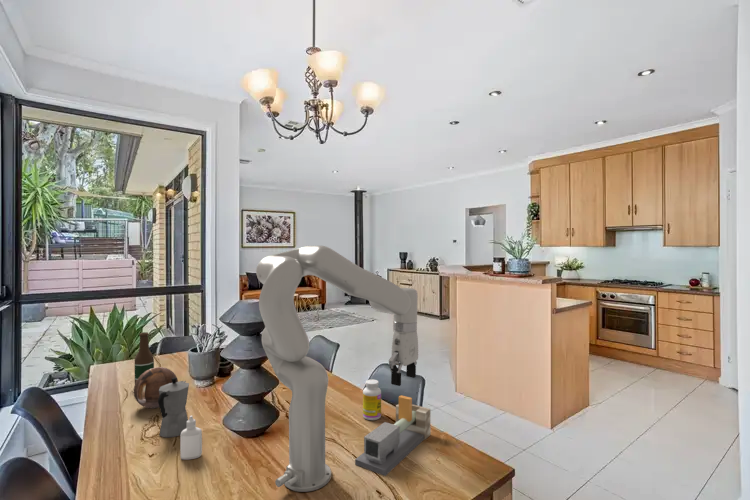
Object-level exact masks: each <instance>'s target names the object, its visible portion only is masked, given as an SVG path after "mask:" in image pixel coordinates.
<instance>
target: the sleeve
mask: <svg viewBox="0 0 750 500" xmlns="http://www.w3.org/2000/svg"><path fill="white" fill-rule="evenodd" d="M399 444H400V426H397V425H394V424H393V423H389V422H386V421H384V422H383V423H381V424H380V425H379V426H378V427H376V428H375V429H373V430H372V431H370V432H369V433H367V434H366V435H365V436H364V437H363V453H364V455H365V456H366V459H367V460H370V461H373V462H375V463H378V464H383V463H384V462H385V461H386V455H387V454H388V453H389V452H392V453H395V452H396V451H397V450H398V445H399Z"/></svg>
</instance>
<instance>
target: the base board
mask: <svg viewBox="0 0 750 500" xmlns="http://www.w3.org/2000/svg"><path fill="white" fill-rule="evenodd" d="M423 441H424V435H423V434H420V433H416V432H413V431H410V430H406V429H405V430H404V431H403V432H401V433H400V444H399V445H398V450H397V451H396V452H395V453H392V452H389V453H388V454H387V455H386V461H385V462H384V463H383V464H378V463H375V462H373V461H370V460H367V459H366V456H365V455H364V452H363V453H362V454H360V455H359V456H358V457H356V458H355V459H354V463H355V464H354V465H355V466H358V467H360V468H363V469H366V470H369V471H371V472H373V473H376V474H379V475H381V476H385V477H386V476H387V475H388V474H389V473H390V472H392V470H394V468H396V466H398V465H399V464H400V463H401V462H402V461H403V460H404V459H405V458H406V457H407V456H408V455H410V453H412V451H414V450H415V449H416V448H417V447H418V446H419V445H420V444H421V443H422V442H423Z"/></svg>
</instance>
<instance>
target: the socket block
mask: <svg viewBox="0 0 750 500" xmlns="http://www.w3.org/2000/svg"><path fill="white" fill-rule="evenodd" d="M412 411H416V421H415V422H414V423H412V424H411V425H410V426H409V427H408V428H406V430H410V431H413V432H416V433H420V434H423V435H424V440H427V438H428V437H430V436H431V434H432V433H431V432H432V431H431V426H432V425H431V408H428V407H424V406H421V405H418V404H417V405H416V404H413V403H412ZM399 420H400V419H399V403H398V404H396V405H395V423H396V422H398V421H399ZM424 440H423V441H424Z"/></svg>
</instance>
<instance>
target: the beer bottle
mask: <svg viewBox="0 0 750 500" xmlns="http://www.w3.org/2000/svg"><path fill="white" fill-rule="evenodd" d="M138 336H139V348H138V352H137V353H136V354H135V357H134V384H135V383H136V381H137V379H138V378H139V377H140V376H141V375H142V374H143V373H144V372H145V371H147V370H149V369H152V368H155V359H154V355H153V352H151V350H150V345H149V332H145V331H144V332H140V333H139V335H138Z"/></svg>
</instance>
